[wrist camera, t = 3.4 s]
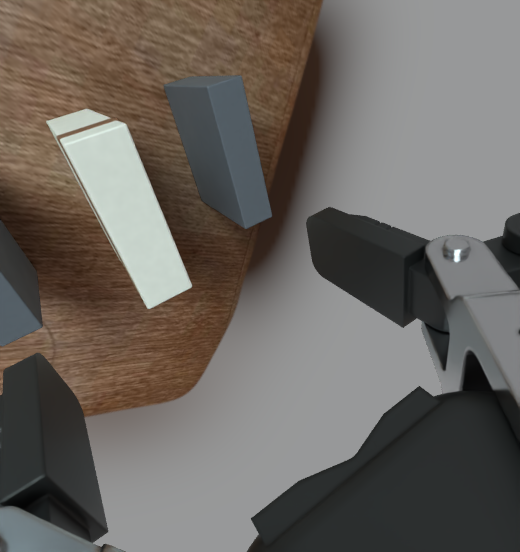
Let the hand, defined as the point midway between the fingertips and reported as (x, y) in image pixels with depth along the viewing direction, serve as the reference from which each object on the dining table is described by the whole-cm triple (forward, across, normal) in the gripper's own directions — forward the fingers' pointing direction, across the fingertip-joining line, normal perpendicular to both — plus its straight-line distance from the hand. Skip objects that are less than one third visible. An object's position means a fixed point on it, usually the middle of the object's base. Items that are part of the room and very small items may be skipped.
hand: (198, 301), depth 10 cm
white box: (+17, 0, 0) cm, 17 cm away
